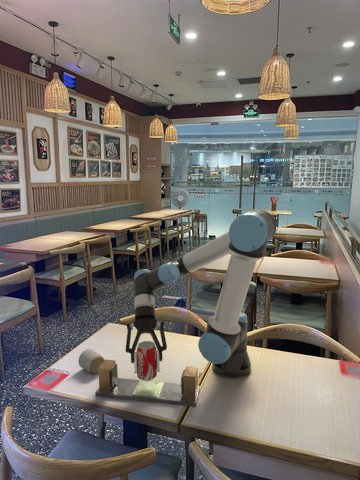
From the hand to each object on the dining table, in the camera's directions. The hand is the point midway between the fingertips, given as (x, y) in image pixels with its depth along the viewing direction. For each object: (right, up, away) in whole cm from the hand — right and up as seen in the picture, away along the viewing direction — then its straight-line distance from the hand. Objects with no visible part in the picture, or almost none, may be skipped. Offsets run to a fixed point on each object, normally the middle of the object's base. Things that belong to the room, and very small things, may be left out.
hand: (147, 371), depth 118 cm
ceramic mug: (-23, -7, +21) cm, 32 cm away
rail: (0, -9, +5) cm, 10 cm away
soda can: (0, -4, +4) cm, 6 cm away
